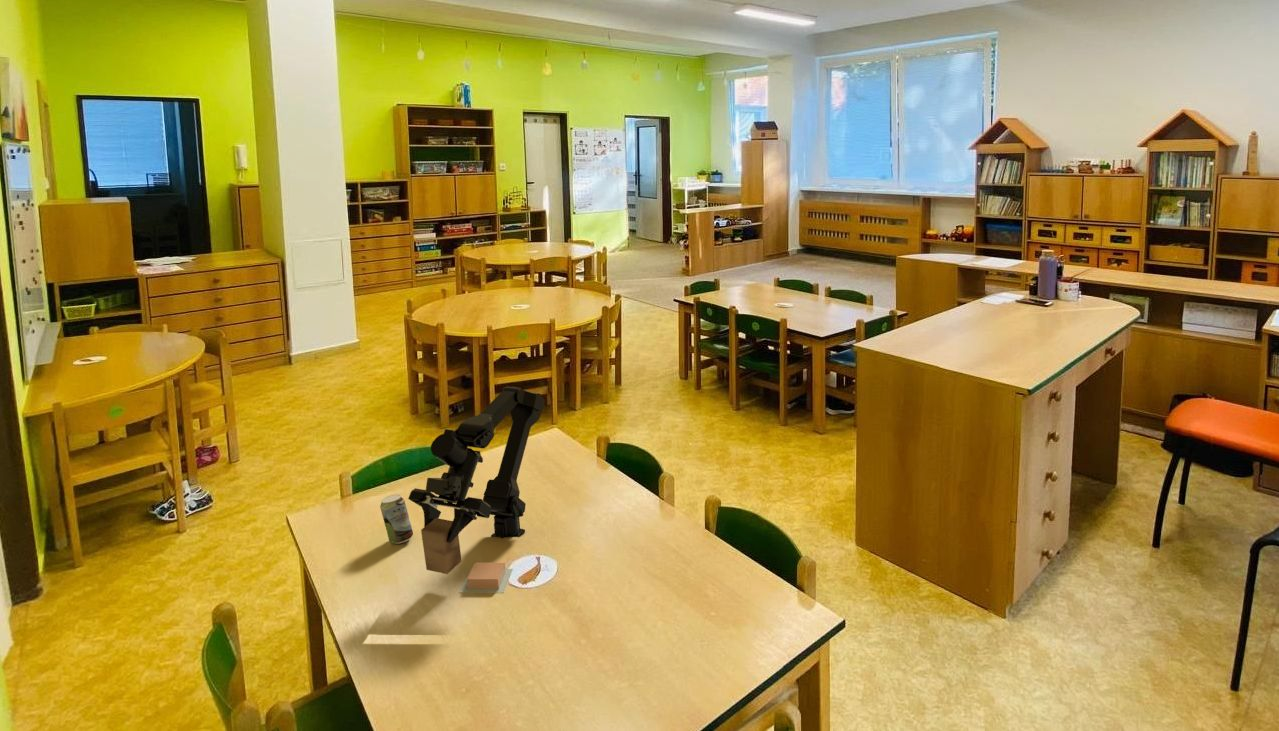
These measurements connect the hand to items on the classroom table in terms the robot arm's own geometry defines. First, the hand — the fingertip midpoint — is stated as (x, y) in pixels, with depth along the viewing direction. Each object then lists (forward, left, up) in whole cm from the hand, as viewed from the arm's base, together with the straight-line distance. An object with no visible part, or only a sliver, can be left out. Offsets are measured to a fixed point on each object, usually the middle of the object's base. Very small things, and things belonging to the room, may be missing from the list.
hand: (437, 540), depth 169 cm
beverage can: (-14, -27, -14) cm, 33 cm away
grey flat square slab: (-7, +7, -14) cm, 17 cm away
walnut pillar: (-1, 0, -7) cm, 7 cm away
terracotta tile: (-7, +7, -12) cm, 16 cm away
